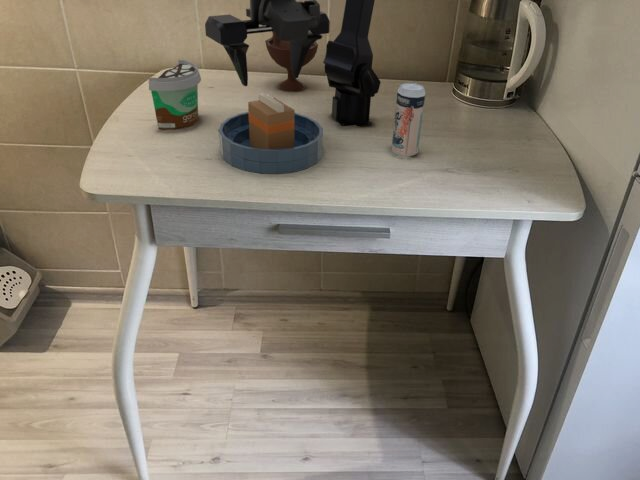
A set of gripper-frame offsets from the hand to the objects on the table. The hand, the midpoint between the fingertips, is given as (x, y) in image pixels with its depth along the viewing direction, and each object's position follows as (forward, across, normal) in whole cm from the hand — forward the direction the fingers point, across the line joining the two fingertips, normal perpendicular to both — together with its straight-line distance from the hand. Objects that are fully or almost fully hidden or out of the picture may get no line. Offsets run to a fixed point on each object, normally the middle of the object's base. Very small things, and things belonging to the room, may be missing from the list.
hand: (270, 81), depth 95 cm
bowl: (+12, 0, 0) cm, 13 cm away
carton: (+12, 0, 0) cm, 12 cm away
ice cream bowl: (+13, +21, +28) cm, 37 cm away
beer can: (+13, +21, -11) cm, 27 cm away
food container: (+13, -8, +18) cm, 24 cm away
